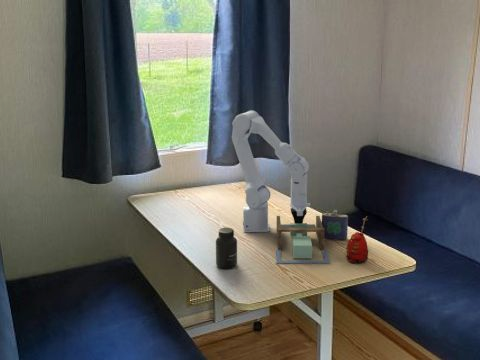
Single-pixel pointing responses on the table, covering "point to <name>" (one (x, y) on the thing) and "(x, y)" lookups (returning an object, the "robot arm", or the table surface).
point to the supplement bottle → (226, 249)
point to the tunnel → (318, 230)
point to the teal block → (301, 242)
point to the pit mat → (289, 226)
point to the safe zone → (325, 255)
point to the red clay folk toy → (357, 247)
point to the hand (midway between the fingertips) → (298, 228)
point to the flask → (335, 226)
